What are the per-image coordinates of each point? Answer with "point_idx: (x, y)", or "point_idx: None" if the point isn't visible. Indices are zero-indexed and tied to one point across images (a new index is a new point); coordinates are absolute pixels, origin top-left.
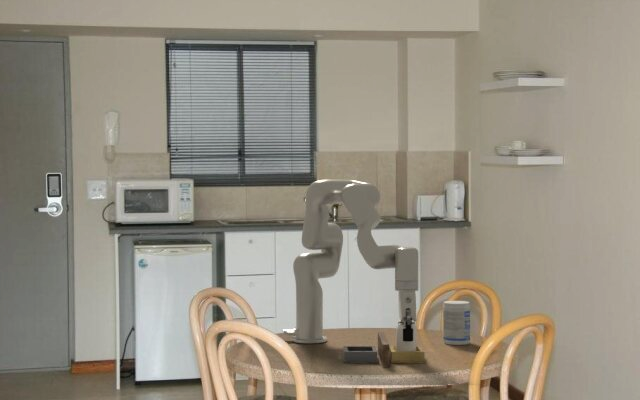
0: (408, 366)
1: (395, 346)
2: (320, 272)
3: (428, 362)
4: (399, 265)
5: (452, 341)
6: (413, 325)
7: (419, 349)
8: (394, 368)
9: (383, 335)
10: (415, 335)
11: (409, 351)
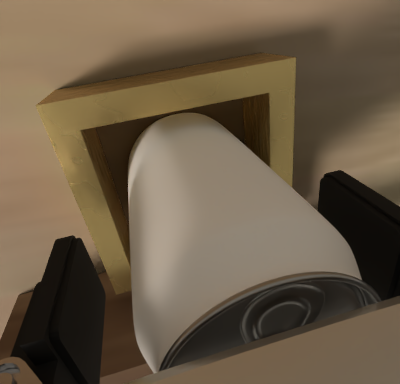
0: (346, 133)
1: (123, 264)
2: None
3: (247, 24)
4: None
5: None
6: (342, 262)
7: (206, 103)
8: (376, 184)
9: (130, 375)
10: (269, 175)
11: (283, 162)
